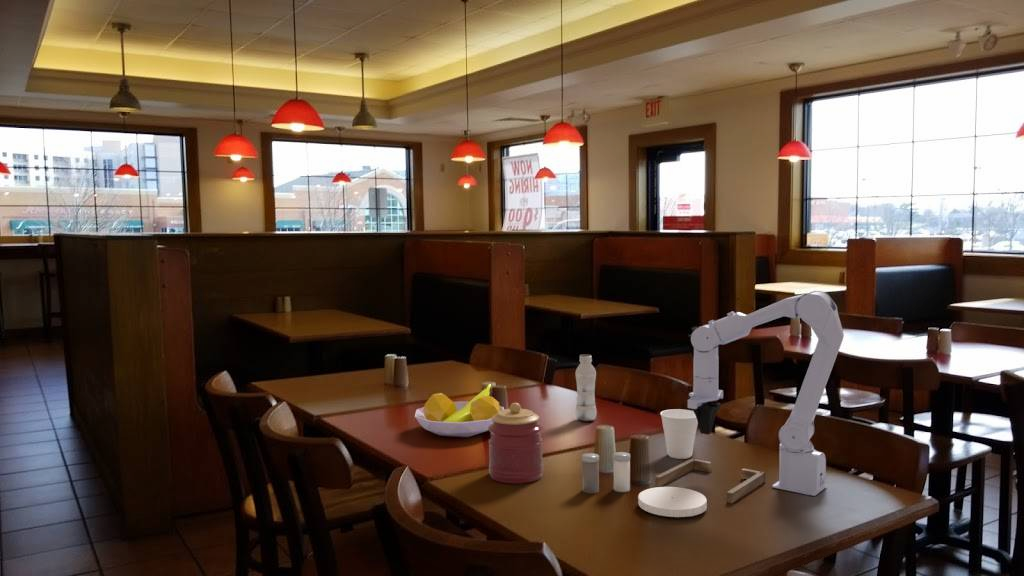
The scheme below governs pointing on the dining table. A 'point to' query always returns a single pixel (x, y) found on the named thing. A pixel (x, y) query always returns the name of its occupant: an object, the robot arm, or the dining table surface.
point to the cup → (679, 432)
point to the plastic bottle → (585, 389)
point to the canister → (515, 446)
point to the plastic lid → (672, 501)
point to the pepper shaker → (590, 473)
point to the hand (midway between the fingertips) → (705, 433)
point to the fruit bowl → (458, 414)
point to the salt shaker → (621, 471)
